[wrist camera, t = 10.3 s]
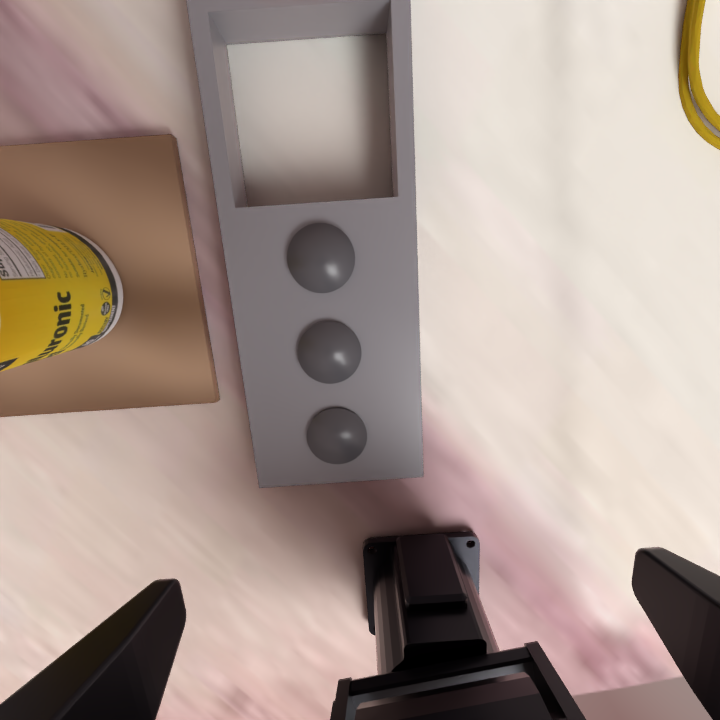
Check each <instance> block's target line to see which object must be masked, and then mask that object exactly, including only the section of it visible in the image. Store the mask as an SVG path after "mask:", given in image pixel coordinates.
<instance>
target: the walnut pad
mask: <svg viewBox="0 0 720 720" xmlns="http://www.w3.org/2000/svg"><path fill="white" fill-rule="evenodd" d="M0 219H7V220H14V221H22V222H29V223H39V224H43V225H51V226H56V227H61V228H66V229H69V230H72V231H74V232H77V233H79V234H81V235H83V236H85V237H86V238H88V239H90V240H91V241H92V242H94V243H95V244H96V245H97V246H98V247H99V248H101V249H102V250H103V251H104V253H105V254H106V255H107V256H108V257H109V259H110V260H111V261H112V263H113V264H114V266H115V268H116V270H117V272H118V274H119V277H120V280H121V283H122V288H123V306H122V311H121V314H120V317H119V319H118V321H117V323H116V325H115V326H114V327H113V329H112V330H111V331H110V332H109V333H108V334H107V335H106V336H104V337H103V338H101V339H100V340H98V341H96V342H94V343H92V344H89V345H87V346H84V347H81V348H78V349H75V350H72V351H68V352H64V353H61V354H58V355H55V356H51V357H48V358H45V359H41V360H38V361H35V362H31V363H28V364H24V365H21V366H17V367H14V368H11V369H8V370H4V371H1V372H0V417H7V416H22V415H37V414H52V413H67V412H82V411H96V410H111V409H126V408H141V407H156V406H171V405H186V404H201V403H215V402H217V401H218V400H219V399H220V397H219V391H218V385H217V379H216V373H215V367H214V361H213V355H212V349H211V344H210V338H209V332H208V326H207V320H206V314H205V308H204V302H203V296H202V290H201V284H200V278H199V272H198V266H197V260H196V254H195V248H194V242H193V236H192V230H191V224H190V218H189V212H188V206H187V200H186V194H185V189H184V183H183V177H182V171H181V165H180V159H179V153H178V147H177V141H176V138H175V137H174V136H172V135H171V134H167V135H153V136H139V137H124V138H110V139H96V140H81V141H67V142H53V143H39V144H24V145H10V146H0Z"/></svg>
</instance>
